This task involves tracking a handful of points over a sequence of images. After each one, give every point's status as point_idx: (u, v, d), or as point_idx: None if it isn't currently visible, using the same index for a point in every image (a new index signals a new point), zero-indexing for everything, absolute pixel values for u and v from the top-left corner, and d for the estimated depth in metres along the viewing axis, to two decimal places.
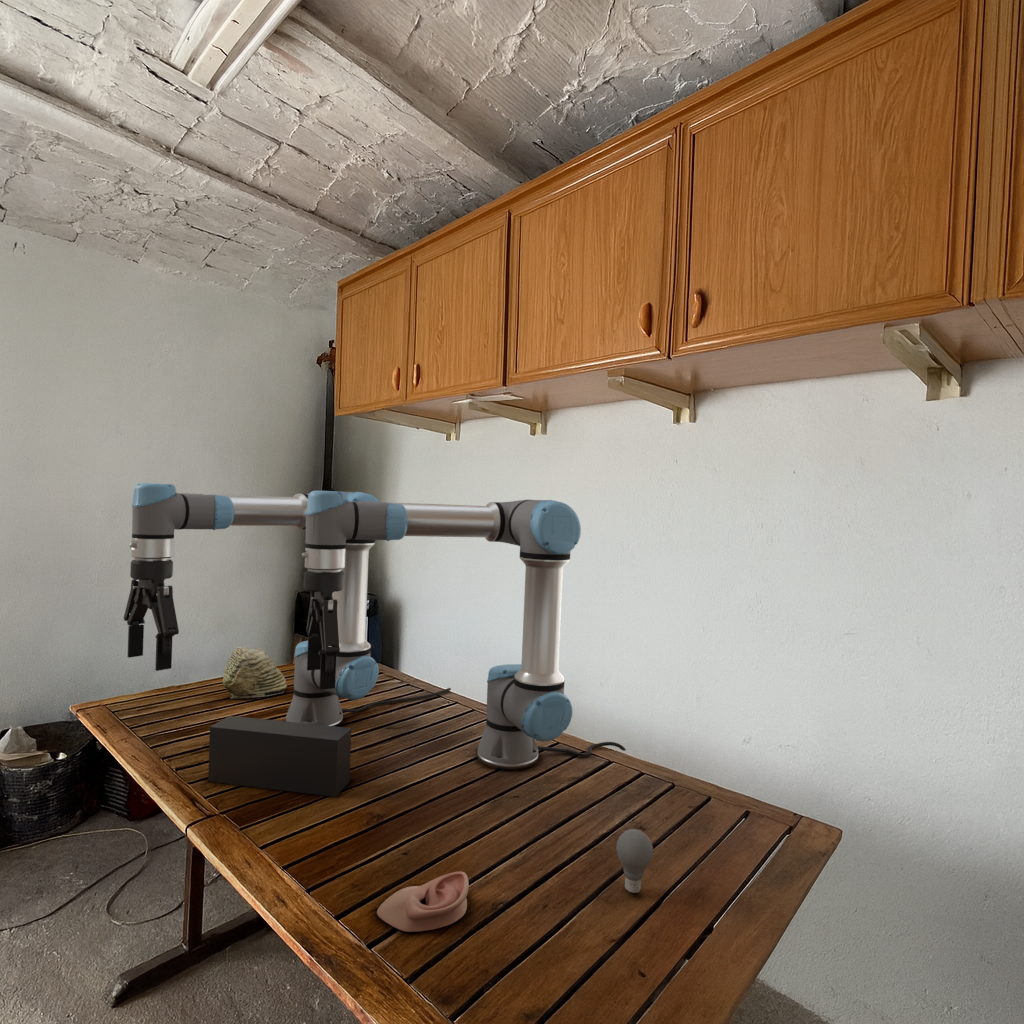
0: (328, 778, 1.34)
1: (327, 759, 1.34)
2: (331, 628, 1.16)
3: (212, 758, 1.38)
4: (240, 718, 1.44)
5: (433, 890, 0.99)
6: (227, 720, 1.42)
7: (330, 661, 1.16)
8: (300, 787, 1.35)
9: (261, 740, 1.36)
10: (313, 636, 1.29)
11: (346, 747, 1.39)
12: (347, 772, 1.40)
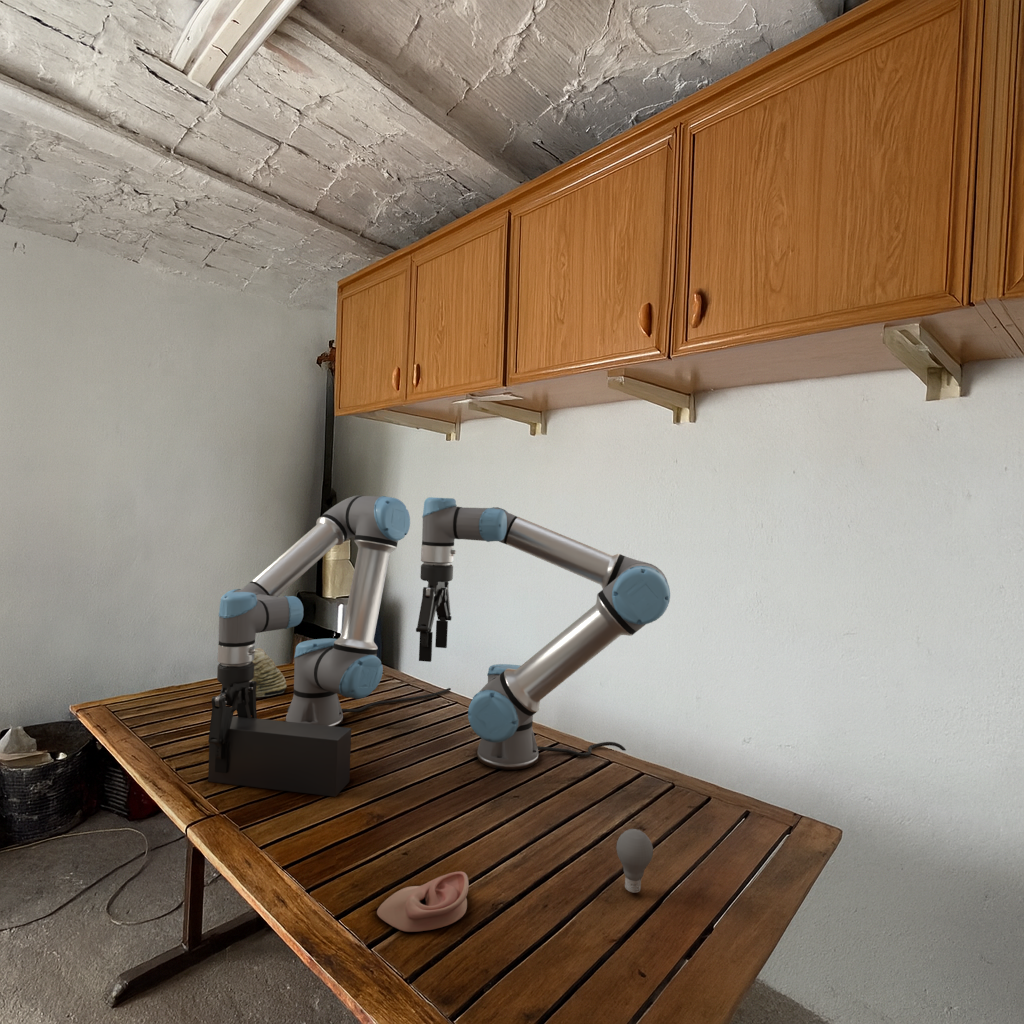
0: (328, 778, 1.34)
1: (327, 759, 1.34)
2: None
3: (212, 758, 1.38)
4: (240, 718, 1.44)
5: (433, 890, 0.99)
6: None
7: None
8: (300, 787, 1.35)
9: (261, 740, 1.36)
10: None
11: (346, 747, 1.39)
12: (347, 772, 1.40)
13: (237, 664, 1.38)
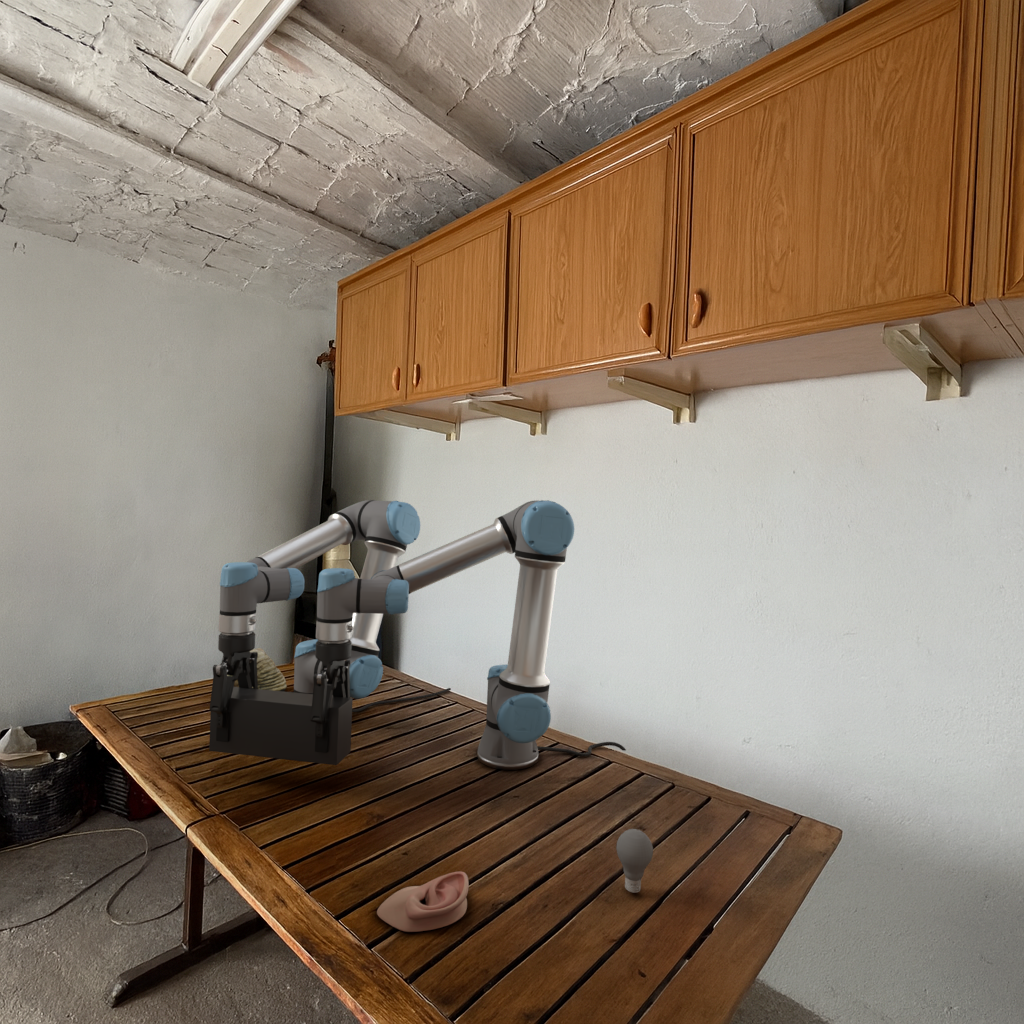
0: (329, 746, 1.34)
1: None
2: None
3: (213, 727, 1.38)
4: (241, 688, 1.44)
5: (433, 890, 0.99)
6: None
7: None
8: (301, 756, 1.35)
9: (262, 709, 1.36)
10: None
11: (347, 716, 1.39)
12: (348, 742, 1.40)
13: (238, 633, 1.38)
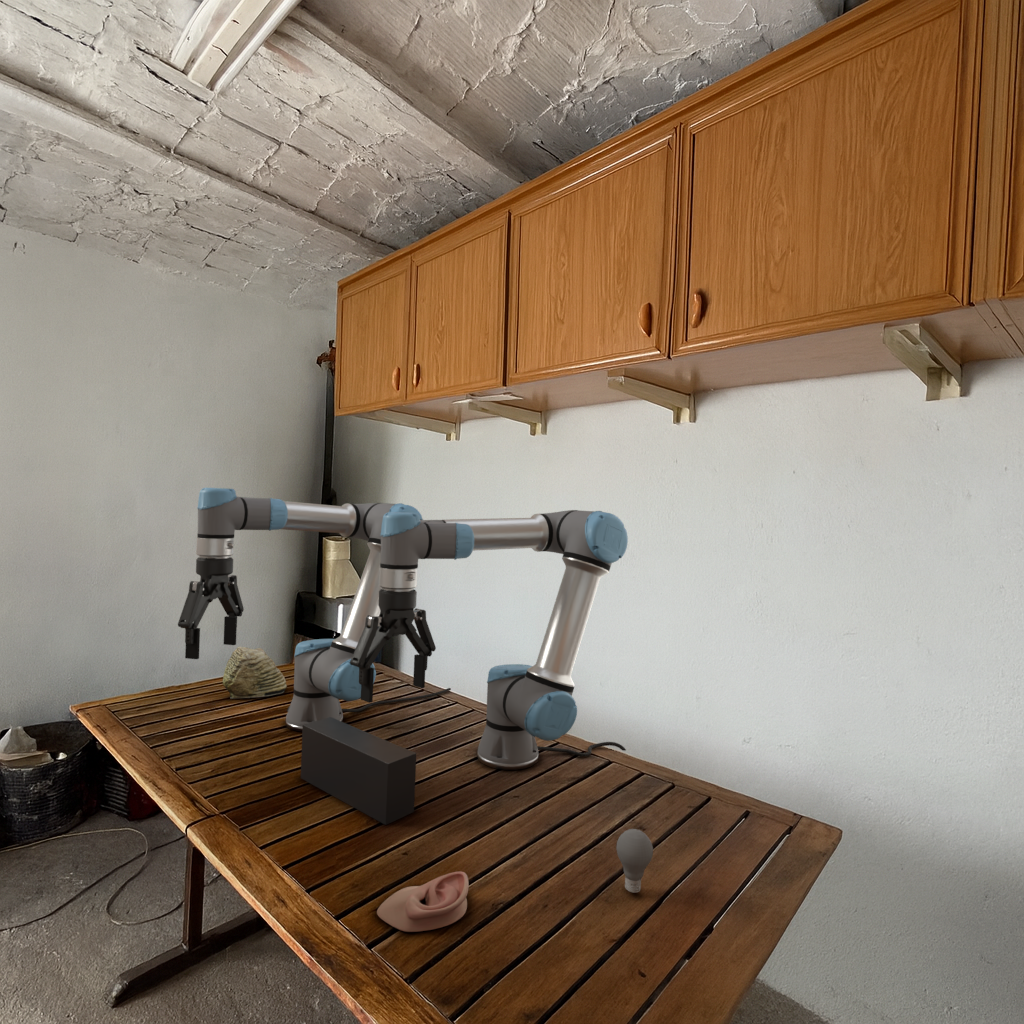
0: (380, 803, 1.24)
1: (380, 782, 1.25)
2: None
3: (303, 756, 1.41)
4: (335, 721, 1.45)
5: (433, 890, 0.99)
6: (322, 721, 1.44)
7: None
8: (360, 805, 1.28)
9: (335, 748, 1.34)
10: None
11: (407, 773, 1.27)
12: (409, 801, 1.28)
13: (216, 556, 1.38)
